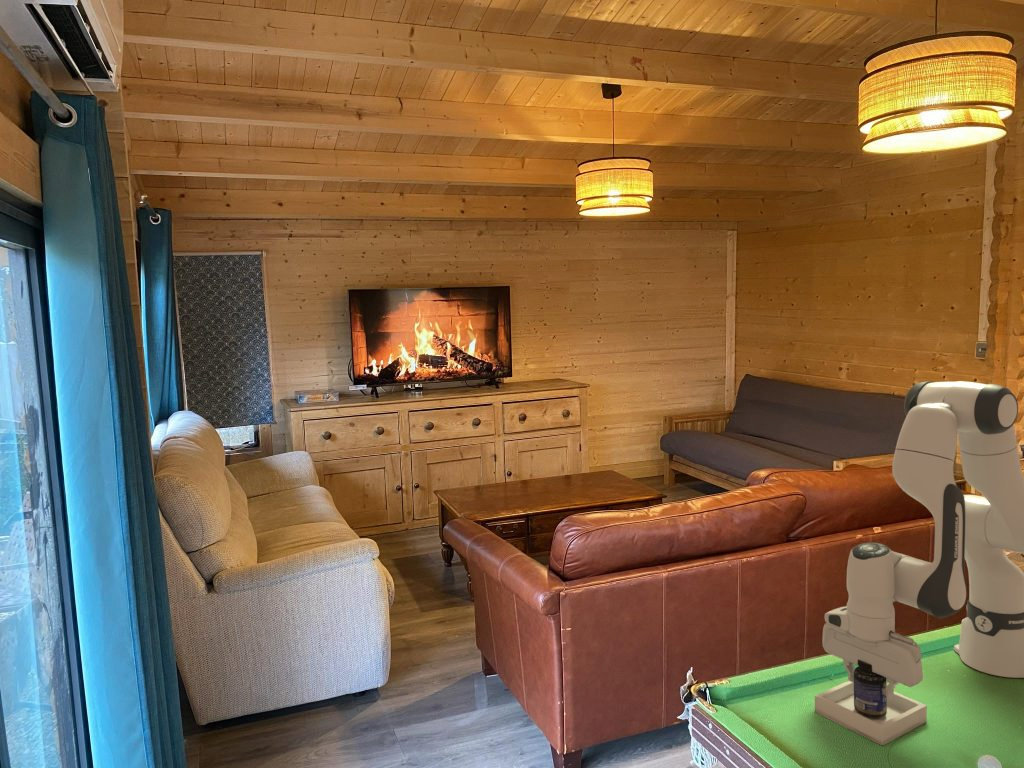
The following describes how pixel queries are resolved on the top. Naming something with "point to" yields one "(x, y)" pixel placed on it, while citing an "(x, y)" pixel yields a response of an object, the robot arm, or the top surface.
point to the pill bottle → (869, 691)
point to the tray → (882, 730)
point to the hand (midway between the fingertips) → (870, 688)
